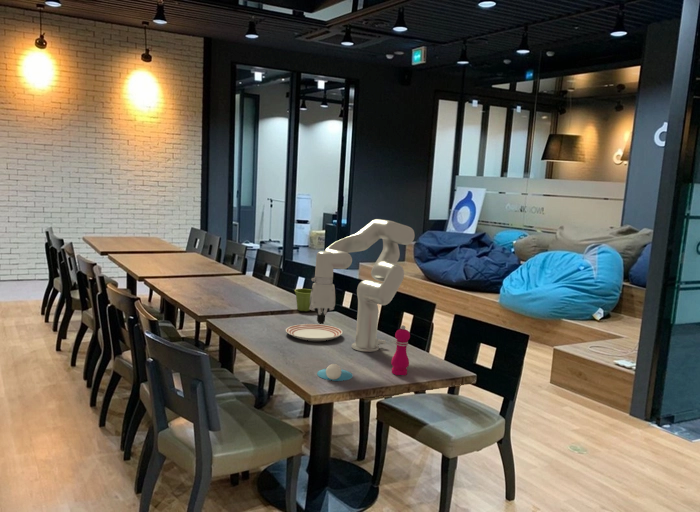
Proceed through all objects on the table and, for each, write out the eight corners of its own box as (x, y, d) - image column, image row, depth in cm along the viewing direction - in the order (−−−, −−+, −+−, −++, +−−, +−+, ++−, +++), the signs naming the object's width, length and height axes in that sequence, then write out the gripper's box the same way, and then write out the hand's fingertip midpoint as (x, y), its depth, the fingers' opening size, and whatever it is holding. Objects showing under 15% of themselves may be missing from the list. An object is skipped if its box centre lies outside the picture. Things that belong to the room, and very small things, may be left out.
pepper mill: (406, 370, 249) (411, 323, 247) (409, 376, 242) (413, 328, 240) (389, 369, 249) (393, 322, 246) (391, 375, 242) (395, 327, 239)
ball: (343, 370, 229) (341, 383, 232) (341, 360, 234) (339, 373, 237) (328, 370, 228) (325, 382, 230) (326, 360, 233) (324, 372, 236)
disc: (345, 368, 247) (345, 367, 247) (357, 379, 234) (357, 379, 234) (312, 369, 242) (312, 369, 242) (323, 381, 229) (323, 381, 229)
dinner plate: (274, 337, 286) (274, 330, 286) (304, 326, 310) (305, 319, 310) (324, 348, 274) (324, 341, 273) (352, 336, 298) (352, 329, 297)
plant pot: (290, 310, 340) (291, 291, 339) (297, 306, 352) (299, 287, 350) (309, 313, 337) (311, 293, 336) (317, 309, 348) (318, 290, 347)
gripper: (309, 282, 248) (306, 325, 250) (343, 282, 253) (340, 325, 256) (304, 279, 255) (301, 321, 257) (337, 279, 260) (334, 320, 262)
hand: (320, 323), depth 256 cm, fingers closed
